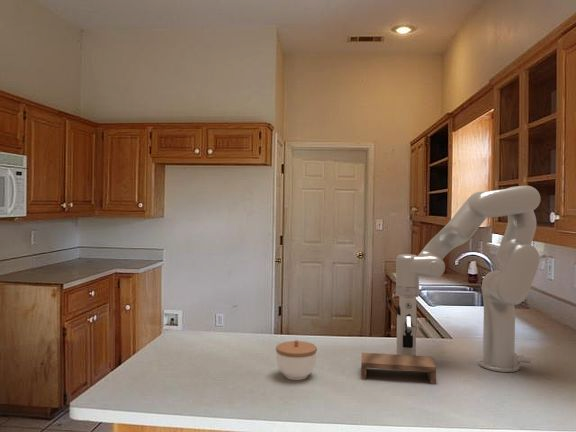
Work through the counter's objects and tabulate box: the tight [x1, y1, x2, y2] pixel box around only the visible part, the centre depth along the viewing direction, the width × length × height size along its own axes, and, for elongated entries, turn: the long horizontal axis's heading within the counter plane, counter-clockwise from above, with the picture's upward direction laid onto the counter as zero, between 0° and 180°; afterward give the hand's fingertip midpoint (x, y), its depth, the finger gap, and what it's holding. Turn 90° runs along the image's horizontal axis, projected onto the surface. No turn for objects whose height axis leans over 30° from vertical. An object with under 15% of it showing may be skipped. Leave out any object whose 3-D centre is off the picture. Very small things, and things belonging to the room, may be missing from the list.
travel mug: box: [396, 303, 418, 356], centre depth 154 cm, size 6×7×20 cm
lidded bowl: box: [275, 339, 318, 381], centre depth 142 cm, size 13×13×11 cm
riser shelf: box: [360, 352, 437, 385], centre depth 143 cm, size 22×10×5 cm, turn 80°
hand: (406, 343), depth 154 cm, fingers closed on travel mug, 6 cm apart
